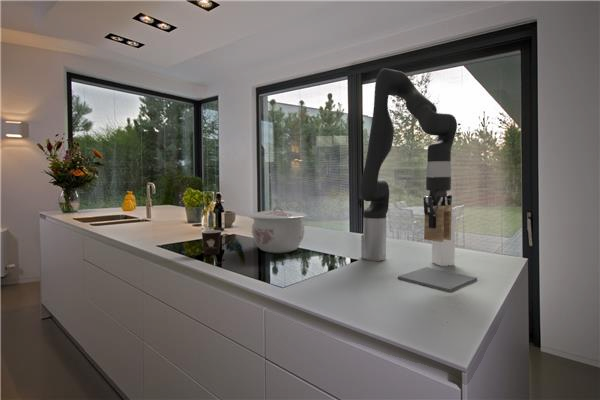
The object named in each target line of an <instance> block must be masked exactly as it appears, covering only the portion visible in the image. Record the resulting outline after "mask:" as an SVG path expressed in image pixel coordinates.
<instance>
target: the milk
mask: <svg viewBox="0 0 600 400" xmlns="http://www.w3.org/2000/svg"><path fill="white" fill-rule="evenodd" d="M456 219H457V218H456V216H455V215H454V214H452V213H451V240H445V239H443V242H438V241H432V240H431V243H432V245H431V262H432V263H433V264H434V265H438V266H439V267H447V266H448V265H449V266H455V261H456V260H455V259H456V257H455V255H456V253H455V252H456Z"/></svg>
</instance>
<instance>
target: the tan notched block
mask: <svg viewBox="0 0 600 400" xmlns="http://www.w3.org/2000/svg"><path fill="white" fill-rule="evenodd" d="M433 207H436V206H433ZM427 211H428V208H427ZM452 211H453V205H452V204H451V205H441V206H438V210H437V214H436V228H434V229H433V228H429V216H427V215H425V214H424V226H423V227H424V228H423V229H424V232H423V236H424V238H423V240H424V241H425V240H426V241H431V242H432V241H438V242H443V239H445V240H451V214H452ZM433 212H434V209H433Z"/></svg>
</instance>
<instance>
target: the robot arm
mask: <svg viewBox="0 0 600 400" xmlns="http://www.w3.org/2000/svg"><path fill="white" fill-rule="evenodd" d="M389 96H391V97H392V96H393V97H398V98H400V99H402V100H404V102H405V107H406V109H407V111H408V112H409V113H410V115H412V116H413V117H414V118H415V119H416V120H417V122H418V123H419V124H418V125H419V126H420V128H421V130H422V131H423V132H424V133H425V134H426V135H429V136H438V137H437V140H436V142H433V143H431V144H429V145H428V146H427V158H426V159H427V163H426V170H425V171H426V175H425V176H426V177H425V179H426V181H425V182H426V183H425V189H426V191H429V194H428V196H426V195H424V196H423V212H424V214H423V215H424V216H425V215H427V216H429V228H433V229H434V228H436V214H437V210H438V206H441V205H452V201H453V200H452V199H453V196H452V194H448V193H447V191H448V192H449V191H451V190H452V164H451V160H452V156H451V155H452V147H453V143H454V140H455V136H456V133H457V130H458V123H457V119H456V117H455V116H454V115H452V114H450V113H441V112H438V109H437V106H436V105H435V104H434V103H433V102H432V101H431V100H430V99H428V98H427V97H425V96H424V95H423V94H422V93H421V92H420V91H419V90H418V89H417V87H416V86H415V85H414V84H413V82H412V81H411V80H410V78H409V77H408V75H406V73H405V72H404V71H403V72H402V71H400V70H395V69H392V68H391V69H390V68H382V69H381V70H379V72H378V74H377V76H376V80H375V85H374V95H373V97H374V99H373V101H374V102H373V111H372V120H371V125H370V131H369V136H368V137H369V138H368V146H367V152H366V158H365V164H364V168H363V173H362V175H361V179H360V184H359V195H360V197H361V199H362V200H363V201H365V202H370V205H369V206H368V207H367V208H366V209H364V210H363V217H362V218H363V220H362V221H363V228H362V229H363V232H362V233H363V234H362V235H361V240H360V241H361V246H360V249H361V250H360V251H361V255H360V256H361V258H363V259H364V260H367V261H373V262H376V261H377V262H378V261H385V260H386V259H387V213H388V211H389V203H390V186H389V184H388V182H387V181H386V180H385V179H384V178H379V173H380V170H381V167H382V164H384V162H385V160H386V158H387V157H388V156H389V154H390V152H391V149H392V146H393V141H394V136H395V135H394V134H395V127H394V123H393V120H392V118H391V116H390V112H389V107H388V105H389V103H388V102H389ZM433 206H436V207H433ZM427 208H428V211H427ZM433 209H434V212H433Z"/></svg>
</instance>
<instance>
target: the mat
mask: <svg viewBox="0 0 600 400" xmlns="http://www.w3.org/2000/svg"><path fill="white" fill-rule="evenodd" d="M397 279H398V280H402V281H406V282H409V283H413V284H417V285H421V286H425V287H429V288H433V289H436V290H441V291H445V292H449V293H451V292H453V291H456V290H458V289H461V288H463V287H464V286H466V285H469V284H471V283H473V282H476V281H477V280H478V277H475V276H471V275H466V274H461V273H457V272H451V271H447V270H442V269H437V268H433V267H428V266H426V267H423V268H419V269H416V270H413V271H409V272H407V273H403V274H400V275H398V276H397Z"/></svg>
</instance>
